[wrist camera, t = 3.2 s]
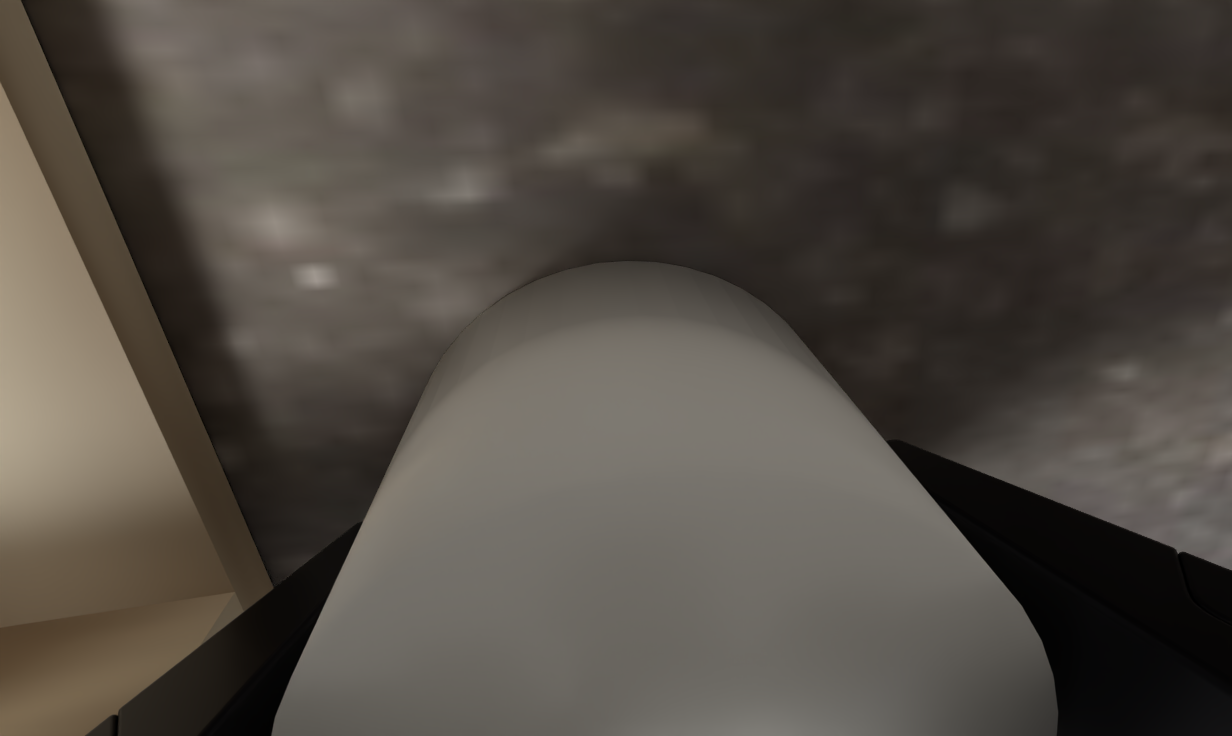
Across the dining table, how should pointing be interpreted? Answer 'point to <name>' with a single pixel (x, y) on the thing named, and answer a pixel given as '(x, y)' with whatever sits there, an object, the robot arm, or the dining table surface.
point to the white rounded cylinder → (657, 544)
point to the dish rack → (93, 441)
